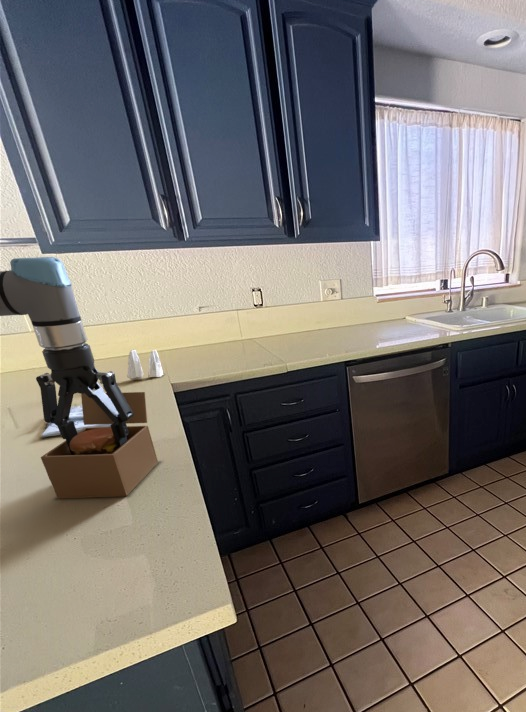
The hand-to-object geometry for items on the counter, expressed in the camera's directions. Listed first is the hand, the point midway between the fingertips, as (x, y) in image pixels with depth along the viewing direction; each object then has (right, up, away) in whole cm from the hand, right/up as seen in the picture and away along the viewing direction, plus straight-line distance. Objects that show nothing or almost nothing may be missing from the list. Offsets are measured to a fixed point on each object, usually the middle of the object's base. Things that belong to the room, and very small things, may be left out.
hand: (101, 451), depth 90 cm
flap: (0, +9, +5) cm, 10 cm away
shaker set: (-29, +24, +70) cm, 79 cm away
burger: (0, 0, 0) cm, 1 cm away
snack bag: (-26, +7, +34) cm, 43 cm away
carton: (0, -6, +3) cm, 7 cm away
